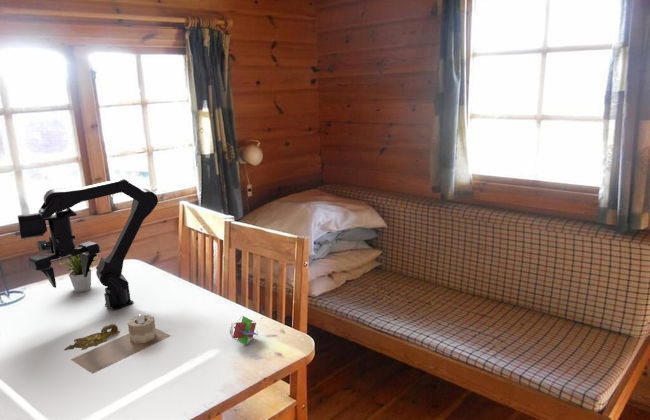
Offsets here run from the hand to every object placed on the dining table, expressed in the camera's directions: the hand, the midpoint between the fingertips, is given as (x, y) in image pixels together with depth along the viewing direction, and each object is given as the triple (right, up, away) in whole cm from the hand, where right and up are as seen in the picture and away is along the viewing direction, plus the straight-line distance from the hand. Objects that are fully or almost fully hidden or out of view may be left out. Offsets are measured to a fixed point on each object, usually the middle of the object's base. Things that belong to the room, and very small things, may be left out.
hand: (70, 282), depth 149 cm
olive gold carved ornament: (+14, -15, -15) cm, 25 cm away
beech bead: (+27, -13, -15) cm, 34 cm away
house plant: (-7, -6, +22) cm, 24 cm away
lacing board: (+24, -15, -19) cm, 34 cm away
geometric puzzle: (+55, -14, -16) cm, 59 cm away
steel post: (+27, -13, -15) cm, 34 cm away
